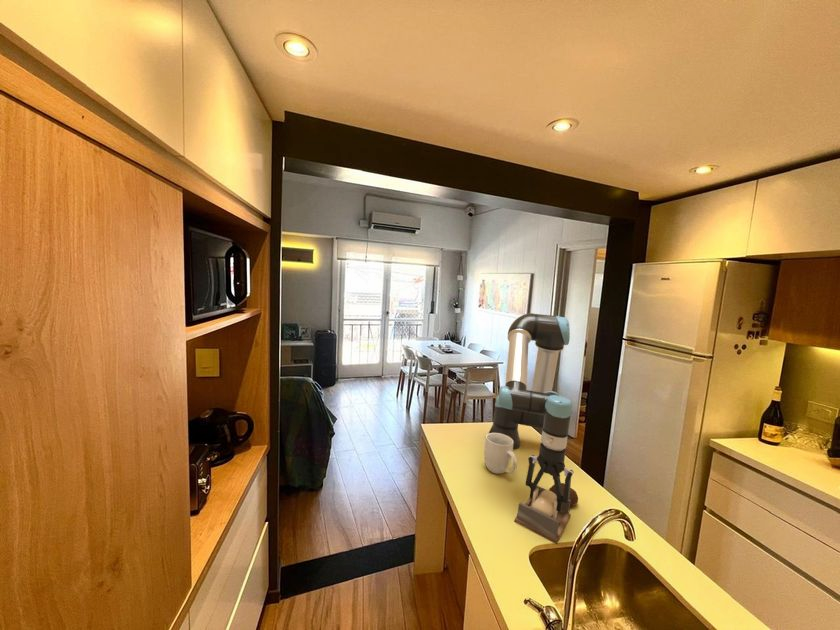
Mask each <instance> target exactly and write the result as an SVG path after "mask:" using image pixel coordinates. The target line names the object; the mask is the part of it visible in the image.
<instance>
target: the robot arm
mask: <svg viewBox="0 0 840 630" xmlns="http://www.w3.org/2000/svg"><path fill="white" fill-rule="evenodd" d="M570 335H571V331H570V322H569V320H568V319H567V318H566V317H565V316H564V317H563V316H559V315H550V314H539V313H533V312H532V313H531V312H530V313H529V312H528V313H524V314H522V315H521V316H518V317H517V318H516V319H514V321H512V323H511V325H510V326H509V328H508V331H507V340H508V343H509V344H508V353H507V365H506V373H505V385H501V386H500V387H499V392H498V395H497V396H496V398H495V403H494V412H493V418H492V421H493V422H492V425H491V427H490V429H489V431H488V434H489V433H500V434H504V435H506V436H509V437H510V438H511V439H512V440H513V442H514V443H513V450H516V449H518V448H520V446H521V444H520V443H521V440H520V434H519V425H520V426H521V425H522V426H526V427H532V428H537V429H539V430H541V436H540V437H541V438H540V445H539V452H538V456H535V455H534V454H531V455H530V456H529V457H528V469H527V472H526V478H525V483H524V484H525V486H527V487H528V488H529V489H530V491H529V497H530V498H531V499H533V500H532V504H533V503H534V501H535V500H536V499H537V497H538V490H539V489H538V488H536V487H537V486H539V483H540V482H541V479H542V477H543V475H544V474H548V475H550V476H551V477H552V480H553V483H554V484H555V490H556V496H557V498H556V499H555V501H554V508H553V515H552V518H554V519H556V518H557V511H559V512H560V510H561V509H562V502H565V503H568V501H569V499H570V488H572V487H571V486H572V485H571V484H572V477H573V475H574V470H573V469H568V468H567V467H566V465H565V464H566V463H565V458H566V451H567V449H566V448H567V445H568V437H569V436H568V435H569V429H570V423H571V417H572V412H573V411H572V407H573V403H572V401H571V399H568V398H567V397H566V396H565V397H564V396H562V395H560V394H559V393H558V392H556V391H553V387H554V382H555V381H554V380H555V375H556V370H557V366H558V361H559V360H558V358H559V354H560V352H561V351H563V350H564V347H565V346H569V343H570V339H571V338H570V337H571V336H570ZM531 342H535V343H534V345H535V346H536V347H537V354H536V360H535V364H534V365H535V367H534V372H533V380H532V386H531V389H530V390H529V389H527V384H528V364H529V363H528V361H529V344H530V343H531ZM536 463H538V465H539V467H540V468H539V471H538V473H537V474H536V476H535V478H534V480H533V477H534V471H535V467H536ZM562 472H564V476H565V478H564V483H565V488H564V496H563V493H562V487H561V483H562V482H561V474H560V473H562ZM532 481H533V482H532ZM554 484H553V485H554Z"/></svg>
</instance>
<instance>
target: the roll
mask: <svg viewBox="0 0 840 630" xmlns="http://www.w3.org/2000/svg"><path fill="white" fill-rule="evenodd" d="M556 498H557V496H556V495H555V494H554V493H553V492H552V491H549V489H546V490H544V491H542V492H541V494H540V495H539V496H538V498H537V499H536V500H535V501H534V503H533V504H532V505H531V508H534V509H536V510H538V511H540V512H542V513H544V514H546V515H548V516H550V517H551V516H552V514H553V508H554V501H555V499H556Z"/></svg>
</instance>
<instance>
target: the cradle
mask: <svg viewBox="0 0 840 630" xmlns="http://www.w3.org/2000/svg"><path fill="white" fill-rule="evenodd" d="M536 488H538V489H539V490H538V496H539V495H540V494H541V492H542V491H544V490H547V489H546V488H544V487H542V486H539V485H537V487H536ZM554 494H555V493H554ZM555 495H556V494H555ZM537 498H538V497H537ZM532 500H533V499H531V498H530V496H529V497H528V499H526V501H525V503H523V502H518V509H517V513H516V516H515V517H514V523H516V524H519V525H520V526H522V527H524V528H525V529H528V530H530V531H532V532H533V533H535V534H537V535H539V536H541V537H543V538H544V539H547V540H549V541H550V542H552V543H555V544H558V542H559V541H560V539H561V536H562V534H563V532H564V530H565V528H566V526H567V524H568V522H569V521H570V518H571V515H572V514H571V513H570V507H571V506H570V501H571V500H569V501H568V503H565V502H562V509H561V510H560V512H559V511H557V518H556V519H554V518H552V516H551V517H550V516H548V515H546V514H544V513H542V512H540V511H538V510H536V509H534V508H531V505H532ZM552 515H553V514H552Z"/></svg>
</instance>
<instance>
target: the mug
mask: <svg viewBox="0 0 840 630" xmlns="http://www.w3.org/2000/svg"><path fill="white" fill-rule="evenodd" d="M488 433H489V432H488ZM513 443H514V442H513V440H512V439H511V438H510V437H509V436H506V435H504V434H500V433H489V434H486V436H485V441H484V449H483V450H484V451H483V452H484V462H485V466H486V467H487V469H488V471H490V472H491V473H492V474H496V475H502V474H504V473H509V474H510V473H514V472H515V471H516V470H517V467H518V460H517V457H516V455H515V453H514V452H513V451H514V449H513ZM511 460H512V468H511V469H509V466H510V464H511Z"/></svg>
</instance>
